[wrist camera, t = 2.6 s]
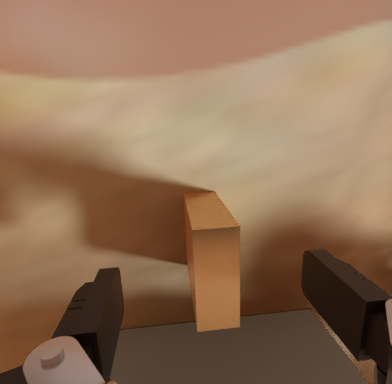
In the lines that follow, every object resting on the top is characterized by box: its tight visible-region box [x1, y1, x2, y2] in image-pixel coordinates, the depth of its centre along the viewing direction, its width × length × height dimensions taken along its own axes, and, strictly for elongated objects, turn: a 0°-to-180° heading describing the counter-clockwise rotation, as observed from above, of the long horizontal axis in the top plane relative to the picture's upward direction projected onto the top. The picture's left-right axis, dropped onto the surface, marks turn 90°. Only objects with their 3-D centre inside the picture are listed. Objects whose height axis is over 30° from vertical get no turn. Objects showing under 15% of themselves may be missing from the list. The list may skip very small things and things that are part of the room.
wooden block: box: [183, 192, 240, 332], centre depth 14 cm, size 2×5×6 cm, turn 2°
